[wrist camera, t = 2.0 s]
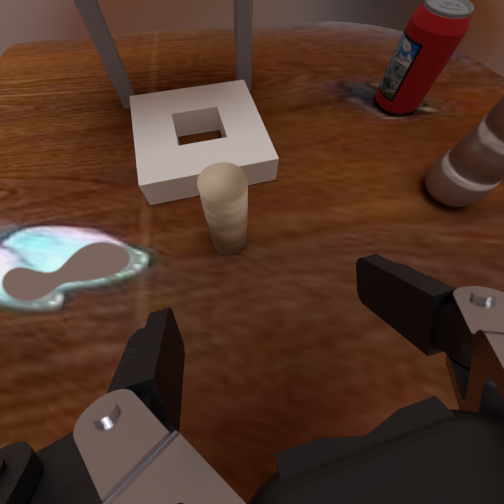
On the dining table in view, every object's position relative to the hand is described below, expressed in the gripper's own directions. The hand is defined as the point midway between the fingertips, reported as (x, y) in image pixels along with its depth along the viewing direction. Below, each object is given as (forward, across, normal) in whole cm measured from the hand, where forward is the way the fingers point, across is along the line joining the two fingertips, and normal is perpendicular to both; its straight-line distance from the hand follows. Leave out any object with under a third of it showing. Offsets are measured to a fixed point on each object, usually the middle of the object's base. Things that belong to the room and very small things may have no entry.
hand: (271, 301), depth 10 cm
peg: (+18, 0, +2) cm, 18 cm away
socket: (+29, 0, -8) cm, 30 cm away
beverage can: (+30, -31, -10) cm, 44 cm away
